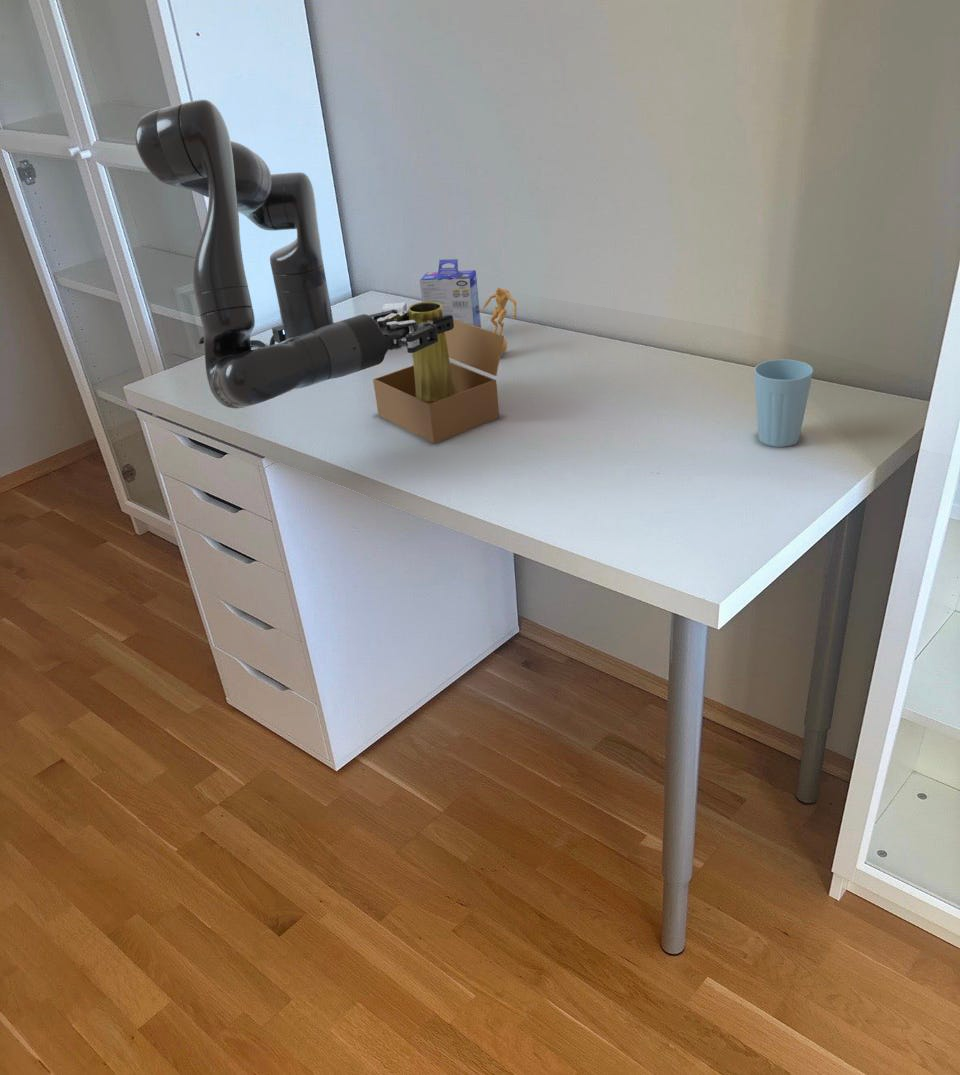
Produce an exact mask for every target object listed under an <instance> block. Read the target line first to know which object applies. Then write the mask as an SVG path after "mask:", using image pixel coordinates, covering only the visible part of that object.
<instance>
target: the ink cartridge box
mask: <svg viewBox="0 0 960 1075" xmlns="http://www.w3.org/2000/svg"><path fill="white" fill-rule="evenodd" d="M458 261H459V259H458V258H455V259H439V262H438V269H437V270H438V271H430V272H426V273H425V274H424V275H423V276H422V277H421V279H419V285H420V293H421V302H438V303H440V304H442V309H443V313H442V314H443V316H444V315H447V314H449V315H452V316H453V319H456V320H459V321H462V322H465V323H468V324H470V325H473V326H476V327H479V328H482V322H481V311H480V310H481V309H480V302H479V301H480V300H479V290H478V279H477V278H478V277H477V271H476V270H475V269H472V270H468V269H467V270H459V262H458ZM446 264H450V265H454V266H453V267H443V266H444V265H446Z"/></svg>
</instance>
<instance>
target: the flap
mask: <svg viewBox="0 0 960 1075" xmlns="http://www.w3.org/2000/svg"><path fill="white" fill-rule="evenodd" d="M453 322H454V327H453V329H452V330H449V331H446V332H445V336H446V342H447V347H448V355H449V359H450V360H453V361H456V362H458V363H461V364H463V365H466V366H469V367H471V368H474V369H476V370H479V371H481V372H484V373H486V374H489V375H492V376H495V377H497V375H498V371H499V365H500V359H501V356H502V355H501V350H502V345H503V339H504V338H505V335H503V334H501V335H500V334H498V332H496V333H494V332H493V331H491V330H489V329H485V328H482V327H481V328H479V327H476V326H473V325H470V324H468V323H465V322H462V321H459V320H456V319H453ZM500 355H501V356H500Z"/></svg>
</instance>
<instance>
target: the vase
mask: <svg viewBox="0 0 960 1075" xmlns="http://www.w3.org/2000/svg"><path fill="white" fill-rule="evenodd" d="M407 311H408V313H409V320H416V322H422V321H428V320H432V319H435V318H438V317H441V316H443V314H442V313H443V309H442V304H440V303H438V302H422V301H421V302H416V303H413V304H411V305H409V306H408V307H407ZM421 328H423V327H421ZM421 328H419V329H421ZM409 330H410V332H413V331H412V326H409ZM411 354H412V365H414V377H415V388H416V394H415V396H416V398H418V399H420V400H422V401H424V402H429V403H433V402H436V401H439V400H442V399H444V398H447V397H450V396H452V395H454V389H453V386H452V377H451V370H450V364H449V362H450V358H449V355H448V347H447V342H446V336H445V332H443V333H440V334H438V342H436V343H434V344H432V345H429V346H427V347H425V348H423V349H421V350H419V351H416V352H414V353H411Z"/></svg>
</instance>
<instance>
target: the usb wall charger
mask: <svg viewBox="0 0 960 1075" xmlns="http://www.w3.org/2000/svg"><path fill="white" fill-rule="evenodd" d="M393 309H394V310H397V312H398V313H399V312H401V311H407V313H408V306H407V302H395V303H392V302H391V303H383V305H382V307H381V312H385V311H390V310H393Z"/></svg>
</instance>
